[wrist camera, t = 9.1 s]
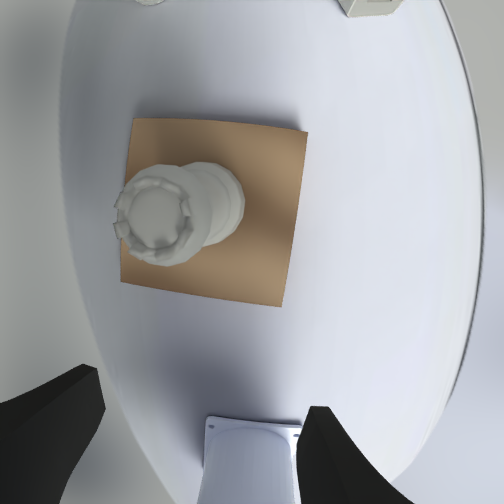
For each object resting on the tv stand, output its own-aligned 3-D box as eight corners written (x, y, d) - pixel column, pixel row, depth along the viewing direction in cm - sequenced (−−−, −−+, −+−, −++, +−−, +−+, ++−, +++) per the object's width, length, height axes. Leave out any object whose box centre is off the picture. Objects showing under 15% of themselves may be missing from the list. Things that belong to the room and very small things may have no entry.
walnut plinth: (280, 297, 18) (281, 307, 17) (130, 274, 18) (120, 281, 17) (304, 136, 16) (307, 132, 15) (143, 122, 16) (133, 118, 15)
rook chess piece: (263, 198, 16) (262, 210, 8) (210, 259, 16) (165, 322, 9) (201, 145, 15) (144, 111, 7) (151, 207, 16) (66, 229, 8)
